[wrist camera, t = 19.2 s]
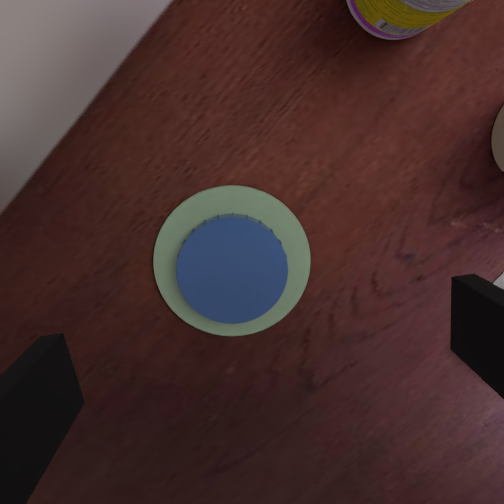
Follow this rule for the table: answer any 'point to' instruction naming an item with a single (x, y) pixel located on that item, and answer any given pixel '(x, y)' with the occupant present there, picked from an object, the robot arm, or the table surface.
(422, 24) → the supplement bottle
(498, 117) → the jar
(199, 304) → the jar lid
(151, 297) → the table surface
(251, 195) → the coaster
